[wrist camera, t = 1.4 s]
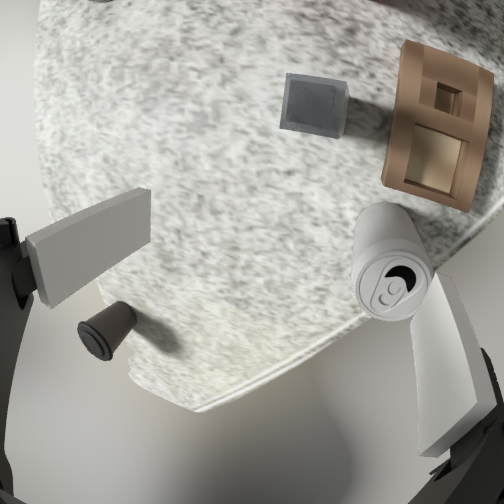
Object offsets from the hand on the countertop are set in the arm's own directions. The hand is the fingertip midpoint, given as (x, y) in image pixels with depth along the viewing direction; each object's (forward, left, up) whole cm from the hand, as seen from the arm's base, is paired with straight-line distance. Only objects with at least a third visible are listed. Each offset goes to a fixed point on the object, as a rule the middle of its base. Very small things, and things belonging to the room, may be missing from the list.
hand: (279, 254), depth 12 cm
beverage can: (+4, +7, -19) cm, 21 cm away
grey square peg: (-7, -1, -19) cm, 20 cm away
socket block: (-8, +10, -19) cm, 23 cm away
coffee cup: (+29, -29, -19) cm, 46 cm away
